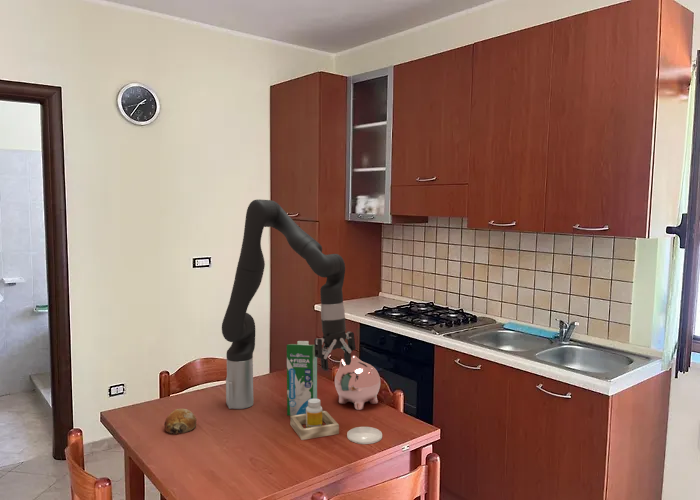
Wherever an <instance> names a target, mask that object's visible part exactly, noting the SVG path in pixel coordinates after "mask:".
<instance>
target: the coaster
mask: <svg viewBox="0 0 700 500" xmlns="http://www.w3.org/2000/svg"><path fill="white" fill-rule="evenodd" d="M346 433H347V434H346V438H347V439H348V440H349V441H350V442H353V443H355V444H359V445H371V444H376V443H378V442H380V441H381V440H382V439H383V433H382V431H381V430H380V429H378V428H376V427H371V426H357V427H353V428H351V429H350V430H348V431H347V432H346Z"/></svg>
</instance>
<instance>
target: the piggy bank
mask: <svg viewBox="0 0 700 500" xmlns="http://www.w3.org/2000/svg"><path fill="white" fill-rule="evenodd" d="M337 369H338V370H337V372H336V373H335V377H334V386H335V390H336V392H337V395H338V404H341V405H342V404H343V405H345V404H347V403H349V402H350V403H353V407H354V409H355V410H357V411H361V410H362V411H363V410H364V407H365V403H368V402H369V403H370V404H371V405H374V404H378V403H379V400H378V396H377V395H378V393H379V391H380V388H381V377H380V374H379V372H378V370H377V368H375V367H374V366H373V365H372V364H370V363H367V362H365V361H362V360H361V359H360V358H358V357H357V355H354V354H353V355H351V363H350V365H345V361H344V358H341V359H340V362H339V367H338V368H337Z"/></svg>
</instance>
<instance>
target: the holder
mask: <svg viewBox="0 0 700 500" xmlns="http://www.w3.org/2000/svg"><path fill="white" fill-rule="evenodd" d="M289 417H290V418H289V419H290V423H289V424H290V426H291V428H292V429H293V430H294V432H295V433H296V434H297V436H298V438H300V440H301V441H304V440H309V439H311V440H312V439H315V438H316V439H317V438H321V437H327V436H333V435H339V434H340V423H338V422H337V421H336V420H335V419H334V418H333V416H331V414H330V413H329V412H328V411H327V410H322V422H324V423H325V424H324V425H323V424H322V426H317V427H311V428H306V427H305V428H304V427H303V425H306V414H300V415H294V416H291V415H289Z"/></svg>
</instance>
